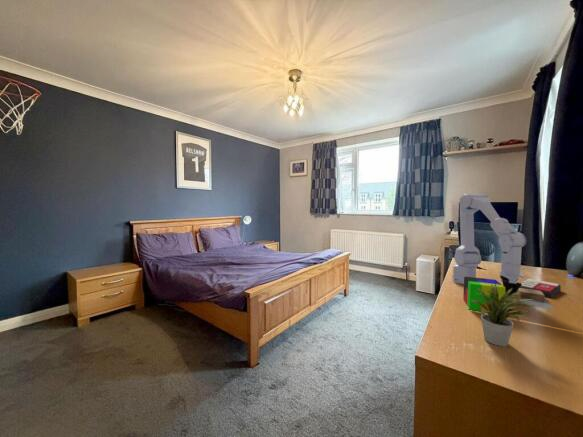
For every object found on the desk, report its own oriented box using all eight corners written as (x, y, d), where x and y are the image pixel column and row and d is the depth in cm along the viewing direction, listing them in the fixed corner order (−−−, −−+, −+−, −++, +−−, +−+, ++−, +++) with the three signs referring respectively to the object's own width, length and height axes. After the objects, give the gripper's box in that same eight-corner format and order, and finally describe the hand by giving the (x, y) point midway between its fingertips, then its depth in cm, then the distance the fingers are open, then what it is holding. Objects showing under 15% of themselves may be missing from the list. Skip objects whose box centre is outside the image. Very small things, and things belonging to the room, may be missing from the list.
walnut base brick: (516, 296, 100) (517, 291, 100) (514, 292, 105) (514, 287, 105) (544, 301, 96) (544, 295, 96) (540, 296, 100) (540, 290, 100)
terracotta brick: (499, 299, 97) (500, 289, 97) (498, 296, 101) (499, 287, 100) (520, 303, 94) (520, 293, 94) (518, 299, 97) (518, 290, 97)
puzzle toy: (494, 304, 94) (495, 279, 93) (503, 315, 85) (505, 287, 84) (463, 300, 98) (464, 276, 97) (469, 310, 89) (470, 283, 88)
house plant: (512, 364, 58) (515, 298, 58) (454, 336, 71) (456, 281, 70) (541, 350, 64) (545, 290, 63) (483, 326, 77) (485, 276, 76)
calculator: (516, 284, 108) (527, 277, 116) (515, 293, 109) (527, 285, 116) (551, 291, 99) (561, 283, 107) (550, 301, 99) (560, 292, 107)
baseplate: (484, 298, 100) (484, 297, 100) (482, 288, 113) (482, 287, 112) (554, 311, 88) (554, 310, 88) (543, 297, 101) (543, 296, 101)
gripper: (528, 268, 88) (526, 304, 89) (521, 260, 100) (519, 293, 101) (502, 265, 92) (501, 300, 93) (499, 258, 104) (497, 289, 105)
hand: (509, 296), depth 97 cm, fingers open, 6 cm apart
